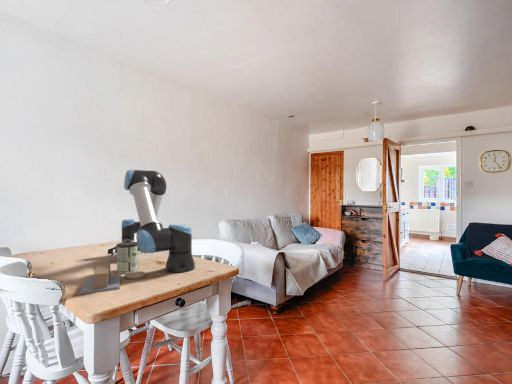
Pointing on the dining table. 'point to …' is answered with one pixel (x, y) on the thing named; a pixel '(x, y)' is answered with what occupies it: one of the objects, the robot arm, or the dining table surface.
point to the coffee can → (127, 257)
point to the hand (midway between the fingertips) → (127, 252)
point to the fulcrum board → (110, 287)
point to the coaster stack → (135, 275)
